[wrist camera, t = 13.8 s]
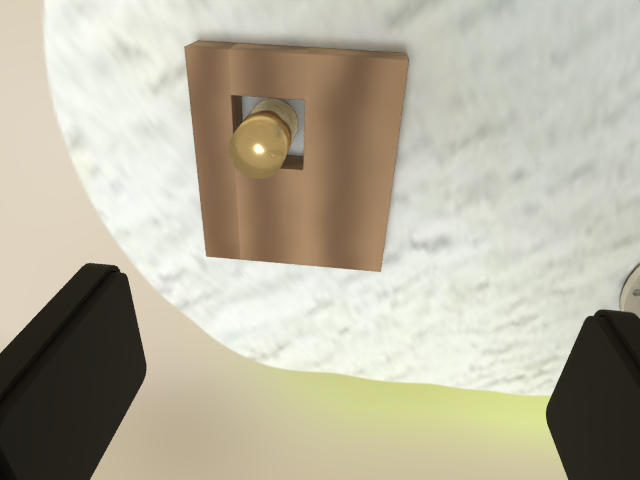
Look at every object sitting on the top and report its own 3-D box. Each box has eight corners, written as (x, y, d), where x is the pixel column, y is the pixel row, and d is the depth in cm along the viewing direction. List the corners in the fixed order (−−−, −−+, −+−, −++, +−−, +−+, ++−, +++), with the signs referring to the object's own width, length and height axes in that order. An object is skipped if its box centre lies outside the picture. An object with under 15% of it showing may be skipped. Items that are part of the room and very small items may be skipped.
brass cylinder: (298, 100, 38) (284, 126, 32) (297, 147, 40) (284, 180, 34) (249, 96, 38) (226, 122, 32) (251, 144, 40) (230, 176, 34)
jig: (406, 52, 35) (408, 60, 32) (380, 253, 44) (380, 271, 42) (197, 40, 36) (184, 46, 33) (215, 239, 45) (206, 256, 43)
